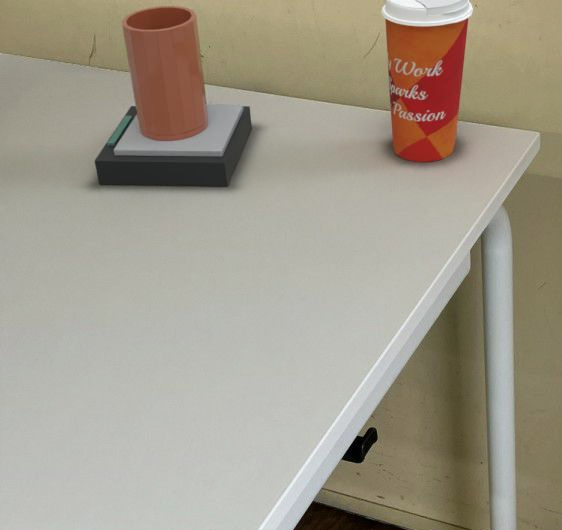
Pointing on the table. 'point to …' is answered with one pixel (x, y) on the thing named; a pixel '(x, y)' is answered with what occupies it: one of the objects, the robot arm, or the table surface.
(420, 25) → the paper cup
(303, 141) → the table surface
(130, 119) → the scale
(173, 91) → the cup
